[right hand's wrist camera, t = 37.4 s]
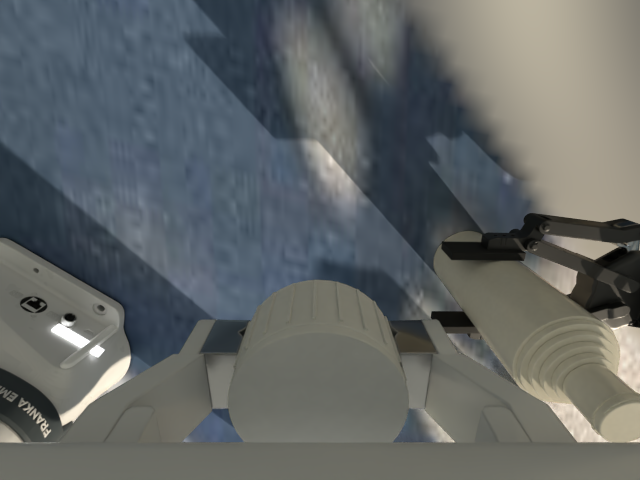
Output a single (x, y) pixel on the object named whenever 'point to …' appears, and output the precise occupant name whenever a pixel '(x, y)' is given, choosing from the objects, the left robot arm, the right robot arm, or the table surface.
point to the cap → (318, 369)
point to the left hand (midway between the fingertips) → (441, 287)
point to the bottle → (544, 339)
